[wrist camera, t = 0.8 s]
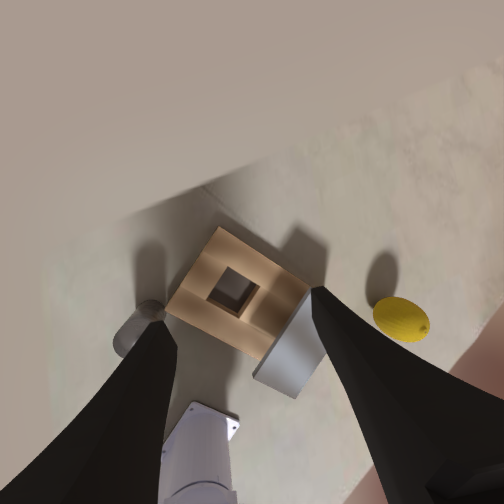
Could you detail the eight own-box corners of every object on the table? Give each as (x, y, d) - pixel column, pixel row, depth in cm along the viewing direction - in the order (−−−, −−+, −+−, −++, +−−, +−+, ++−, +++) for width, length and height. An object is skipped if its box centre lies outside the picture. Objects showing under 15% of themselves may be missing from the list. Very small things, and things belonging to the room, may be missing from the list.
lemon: (357, 297, 34) (402, 320, 26) (389, 284, 35) (441, 303, 27) (365, 329, 35) (410, 361, 27) (396, 316, 36) (448, 343, 28)
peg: (156, 331, 29) (140, 365, 22) (130, 318, 28) (105, 350, 21) (171, 308, 29) (160, 335, 22) (146, 294, 28) (125, 318, 21)
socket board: (278, 363, 33) (295, 399, 26) (167, 304, 29) (154, 329, 22) (323, 295, 33) (352, 313, 26) (218, 225, 29) (221, 227, 22)
